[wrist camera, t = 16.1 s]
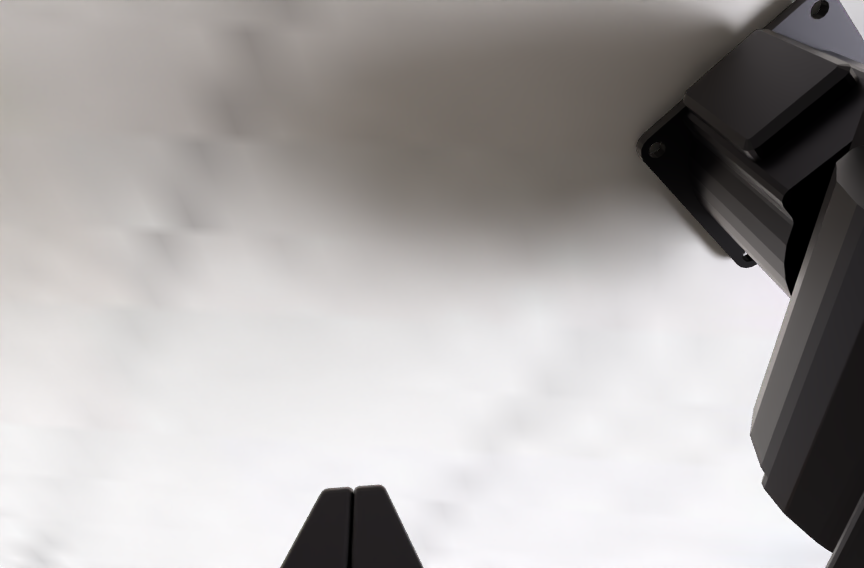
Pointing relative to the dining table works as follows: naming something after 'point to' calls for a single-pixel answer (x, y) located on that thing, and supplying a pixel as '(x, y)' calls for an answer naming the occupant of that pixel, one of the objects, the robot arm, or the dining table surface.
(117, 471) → the dining table surface
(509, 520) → the dining table surface
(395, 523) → the robot arm
